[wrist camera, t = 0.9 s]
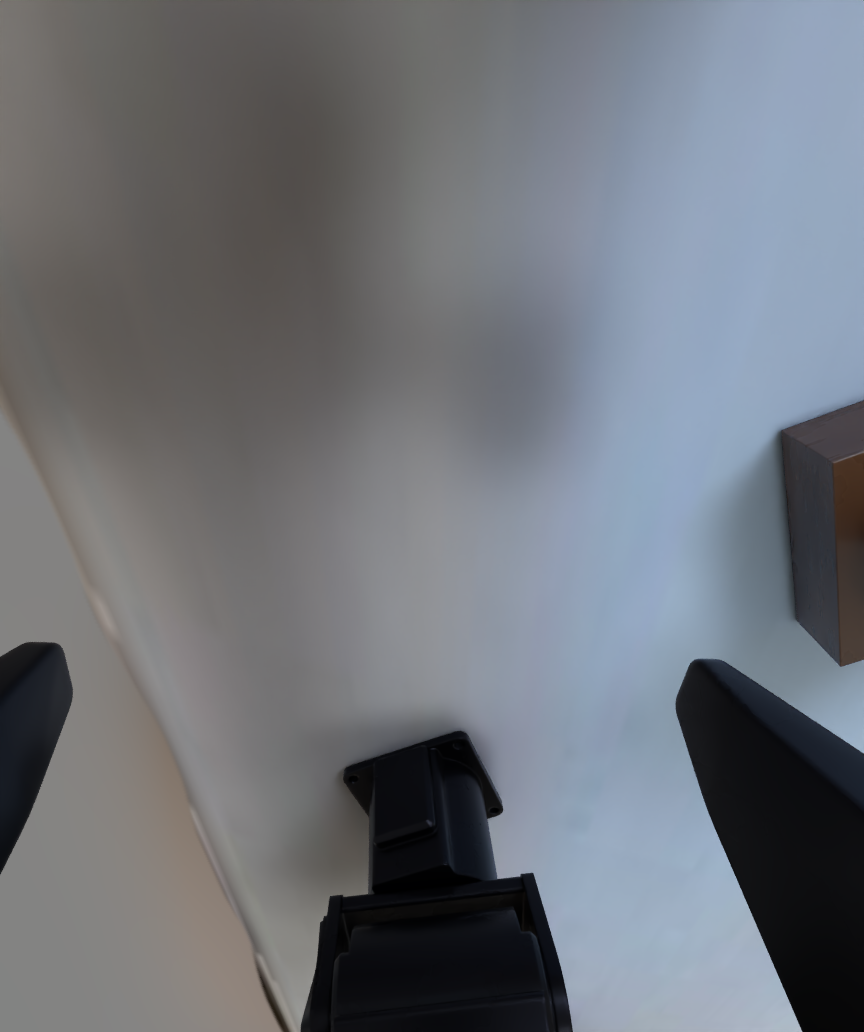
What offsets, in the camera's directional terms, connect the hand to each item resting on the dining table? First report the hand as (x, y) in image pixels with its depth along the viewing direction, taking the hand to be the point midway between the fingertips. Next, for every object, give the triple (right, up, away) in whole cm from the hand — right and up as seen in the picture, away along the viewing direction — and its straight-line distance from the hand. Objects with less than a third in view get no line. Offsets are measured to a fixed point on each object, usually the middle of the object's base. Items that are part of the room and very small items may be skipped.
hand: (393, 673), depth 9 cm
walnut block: (+17, +2, +16) cm, 24 cm away
